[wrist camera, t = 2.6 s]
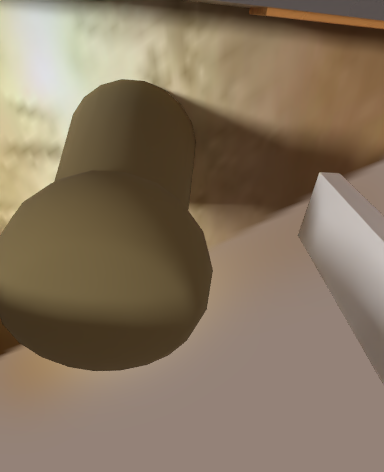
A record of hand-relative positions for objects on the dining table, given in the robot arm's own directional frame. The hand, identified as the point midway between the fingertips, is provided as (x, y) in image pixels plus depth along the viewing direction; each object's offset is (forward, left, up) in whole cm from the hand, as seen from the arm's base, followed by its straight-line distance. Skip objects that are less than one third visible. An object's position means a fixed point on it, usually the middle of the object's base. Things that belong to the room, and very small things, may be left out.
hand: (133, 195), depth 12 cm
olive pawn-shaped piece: (0, 0, -5) cm, 5 cm away
